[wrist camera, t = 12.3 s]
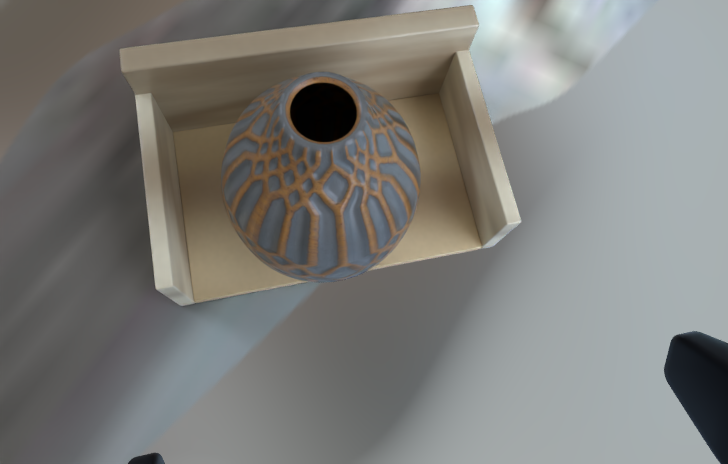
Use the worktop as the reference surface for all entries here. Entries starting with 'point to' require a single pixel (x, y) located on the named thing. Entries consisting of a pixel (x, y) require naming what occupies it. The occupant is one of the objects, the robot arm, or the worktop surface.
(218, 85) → the shoe shelf
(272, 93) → the vase
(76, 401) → the worktop surface
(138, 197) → the worktop surface
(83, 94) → the worktop surface
